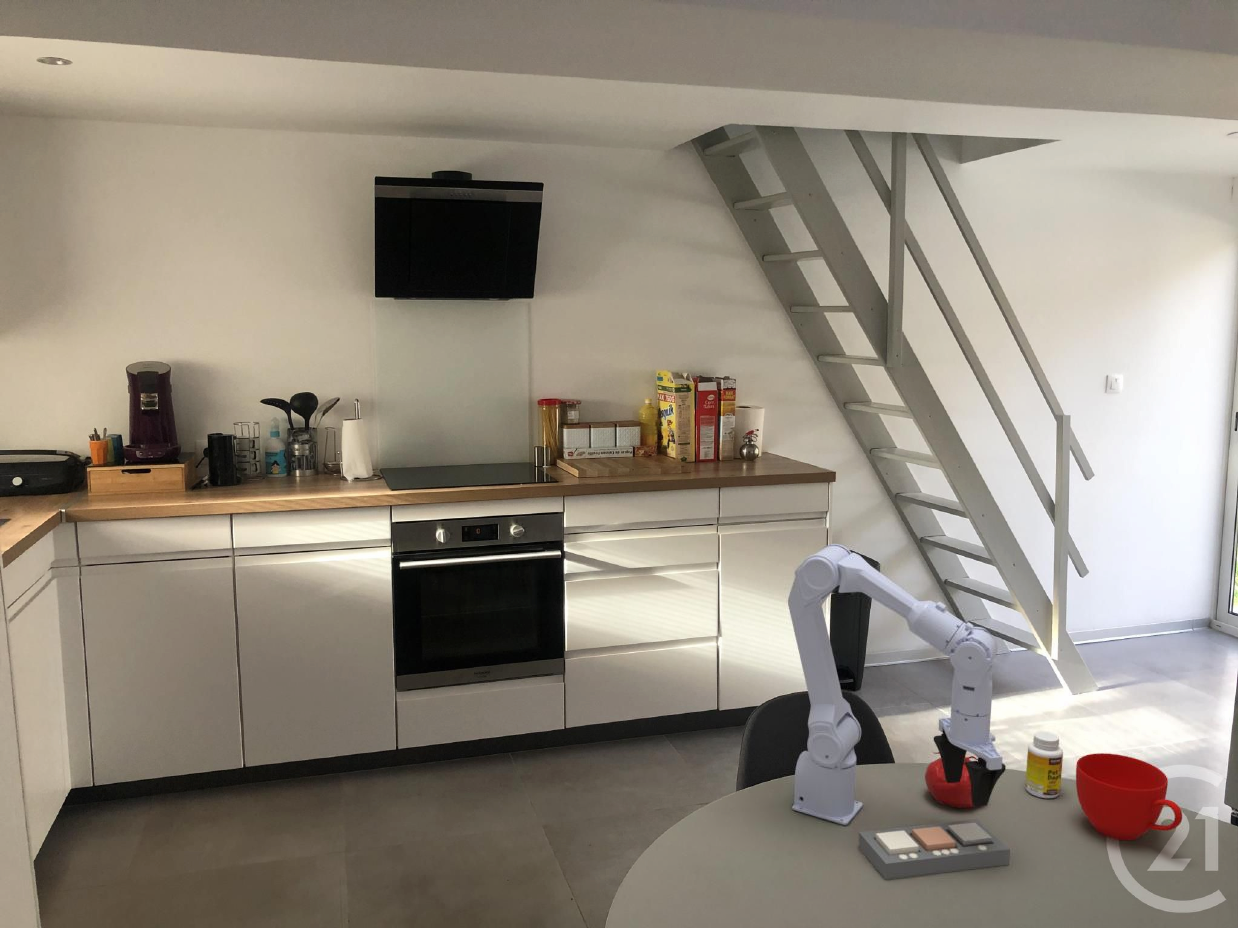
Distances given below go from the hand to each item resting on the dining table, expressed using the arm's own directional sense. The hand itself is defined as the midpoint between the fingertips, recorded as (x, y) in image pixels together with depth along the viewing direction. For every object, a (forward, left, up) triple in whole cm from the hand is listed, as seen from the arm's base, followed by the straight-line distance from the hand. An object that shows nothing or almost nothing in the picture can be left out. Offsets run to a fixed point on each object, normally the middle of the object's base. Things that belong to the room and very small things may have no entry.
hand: (966, 793), depth 152 cm
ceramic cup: (+21, +17, -9) cm, 28 cm away
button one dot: (+1, -2, -7) cm, 7 cm away
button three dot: (-3, -6, -7) cm, 10 cm away
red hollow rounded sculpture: (-5, +14, -9) cm, 17 cm away
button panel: (-3, -6, -8) cm, 11 cm away
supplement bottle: (+7, +25, -9) cm, 27 cm away
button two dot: (-7, -10, -7) cm, 14 cm away
